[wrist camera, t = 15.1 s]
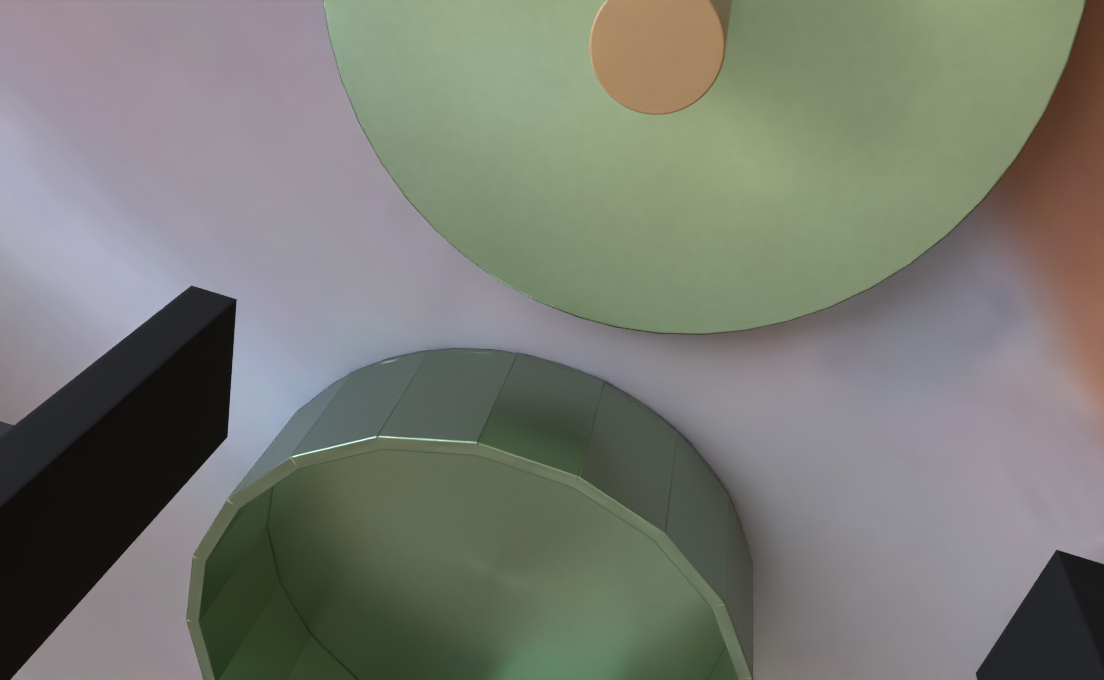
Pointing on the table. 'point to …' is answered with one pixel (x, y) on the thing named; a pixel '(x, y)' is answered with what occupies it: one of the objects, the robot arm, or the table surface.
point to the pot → (474, 536)
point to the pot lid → (698, 139)
